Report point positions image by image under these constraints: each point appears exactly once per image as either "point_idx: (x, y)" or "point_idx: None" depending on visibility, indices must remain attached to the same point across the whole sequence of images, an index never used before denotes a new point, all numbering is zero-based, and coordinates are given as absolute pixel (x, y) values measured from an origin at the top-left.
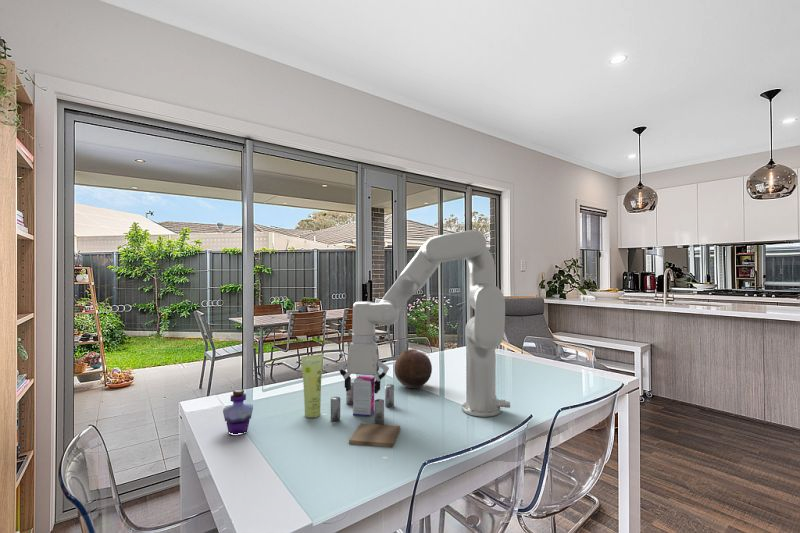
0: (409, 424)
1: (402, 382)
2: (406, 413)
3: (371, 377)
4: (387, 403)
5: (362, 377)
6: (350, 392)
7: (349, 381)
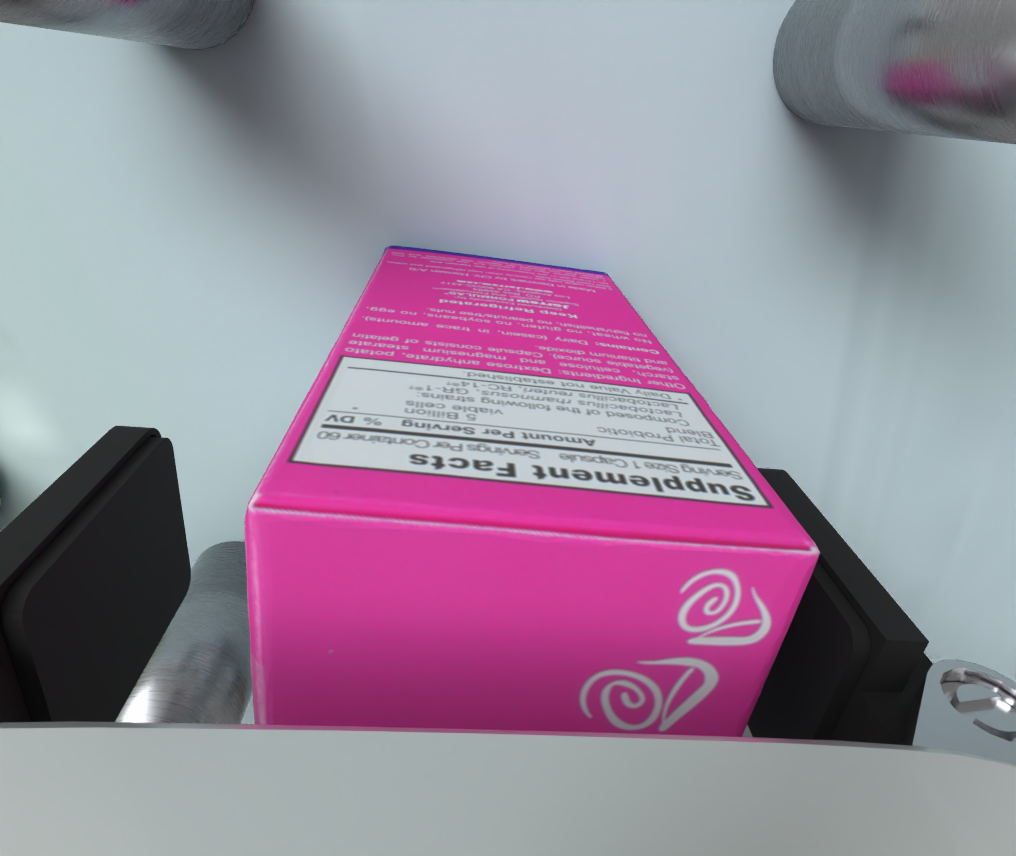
0: (952, 595)
1: None
2: (1009, 335)
3: (714, 623)
4: (828, 119)
5: (429, 680)
6: (100, 32)
7: (93, 640)
